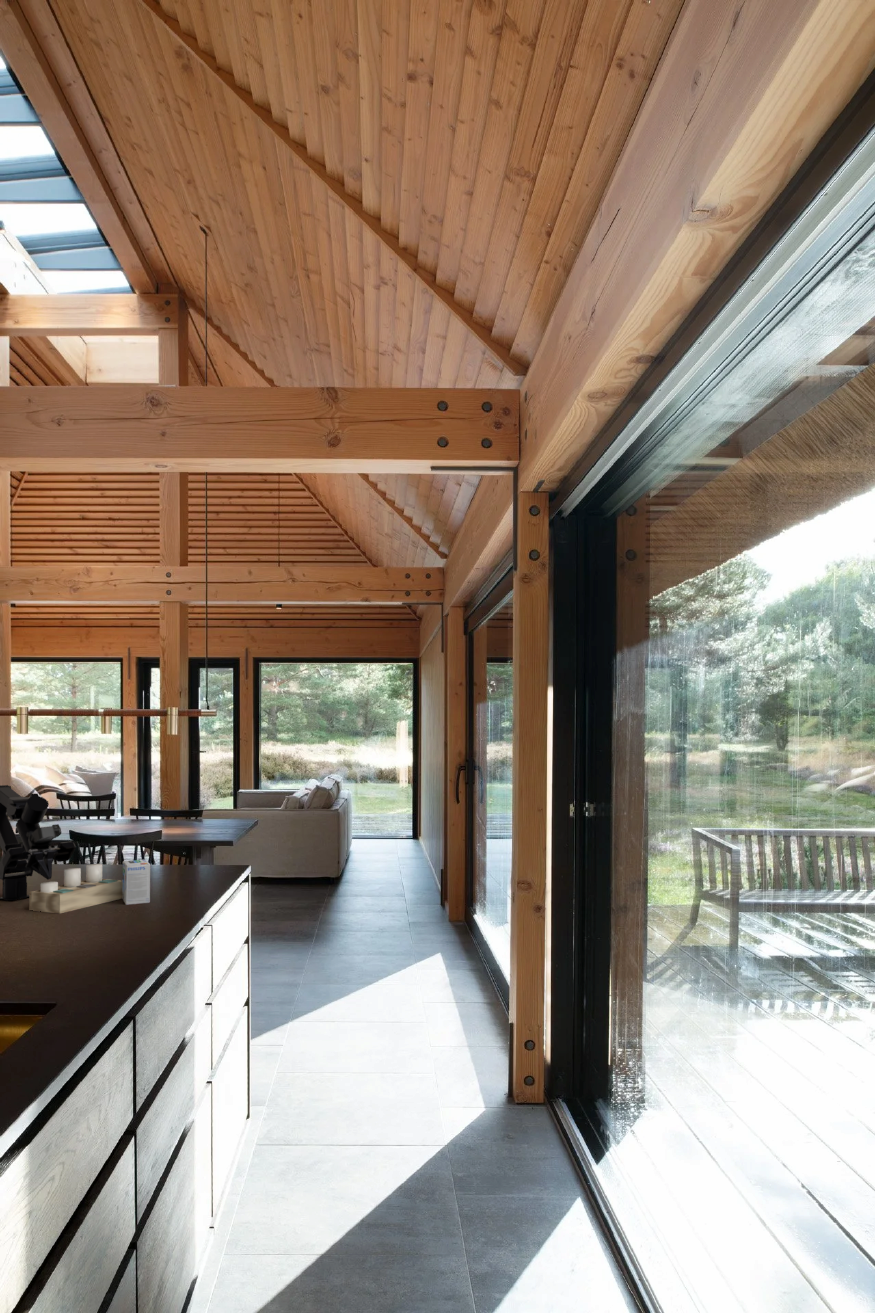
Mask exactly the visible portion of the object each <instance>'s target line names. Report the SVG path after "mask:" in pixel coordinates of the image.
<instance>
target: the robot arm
mask: <svg viewBox="0 0 875 1313" xmlns="http://www.w3.org/2000/svg"><path fill="white" fill-rule="evenodd" d="M49 805H50V804H49V801H48V800H47V799H46V798H45V797H43V796H40V795H39V794H38V793H37V792H36V793H30V795H29V797H28V796H22V795H20V794H19V793H17V791H16V790H14V789H13V788H12V786H11V785H8V784H6V785H5V784H3V785H0V849H1V852H2V855H1V859H0V880H2V889H1V890H2V896H1V897H0V899H5V900H4V901H8V900H15V901H17V900H16V899H19V900H21V899H20V898H24V899H28V898H27V897H29V895H30V894H29V895H28V881H27V877H32V876H33V873H34V872H36V873H37V874H39V875H40V876H42V877H43V878H45V879H46V880H51V879H52V876H53V862H54V861H55V862H58V863H61V862H68V861H69V860H70V859H72V856H73V854H74V853H75V851H76V849H77V847H76V845H75V842H74V841H63V842H58V845H57V847H51V846H52V845H53V840H54V839H56V838H58V837H59V836H61V835H62V828H61V826H60V825H59V824H52V825H49V826H42V827H41V825H40V823H41V822H43V819H44V818H45V814H46V813H47V811H48V808H49ZM10 820H11V821H13V820H17V822H16V824H15V830H14V829H13V827H12V824H11V821H10ZM16 834H18V835H19V837H20V841H21V843H20V842H19V840H18V838H17V835H16Z"/></svg>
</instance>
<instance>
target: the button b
mask: <svg viewBox="0 0 875 1313" xmlns="http://www.w3.org/2000/svg"><path fill="white" fill-rule="evenodd" d="M81 876H82V868H81V867H69V868H64V869H63V885H64V887H70V888H73V887H76V886H80V885H81V881H82V878H81Z"/></svg>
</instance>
